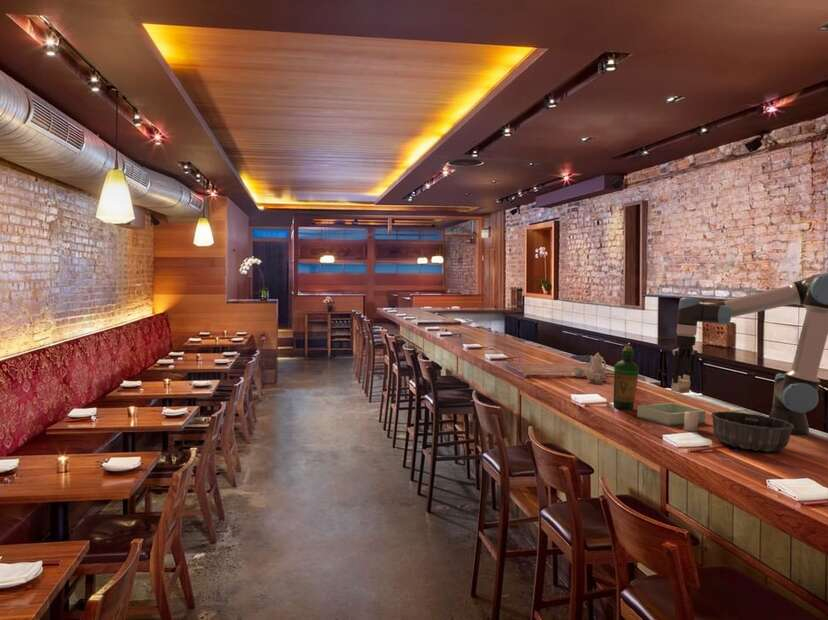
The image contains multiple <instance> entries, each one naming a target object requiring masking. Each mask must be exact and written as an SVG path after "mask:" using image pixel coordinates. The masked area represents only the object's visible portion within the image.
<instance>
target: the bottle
mask: <svg viewBox="0 0 828 620" xmlns="http://www.w3.org/2000/svg"><path fill="white" fill-rule="evenodd" d="M632 348H633V346H624V347H623V349H622V351H621V353H620V354H621V355H622V356H621V357H622V359H621V360H619V361H617V362H616V363H615V364H614V366H613V407H614V409H616V410H617V409H618V410H622V411H623V410H624V411H631V410H633V409H634V407H635V399H636V393H637V386H638V378H639V372H640V367H639V366H638V364H637V363H636V362H635V361H633V356H634V355H635V353H634V350H633V349H632Z"/></svg>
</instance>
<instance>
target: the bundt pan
mask: <svg viewBox="0 0 828 620" xmlns="http://www.w3.org/2000/svg"><path fill="white" fill-rule="evenodd" d="M711 418H712V428H713V434H714V436H715V438H716V439H717V440H718V441H719V442H722V443H724V444H725V445H729V446H732V447H733V448H740V449H742V450H750V449H751V450H753V452H757V451H761V452H764V453H767V452H768V453H769V452H771V453H776V452H778V451H781V450H783V449H785V448H786V447H787V446H788V444H789V442H790V437H791V431H792V429H793V428H794V426H793V424H791V423H788V422H787V421H784V420H779V419H775V418H772V417H769V416H765V415H762V414H754V413H746V412H738V411H737V412H736V411H714V412H712V413H711Z"/></svg>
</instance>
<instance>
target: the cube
mask: <svg viewBox="0 0 828 620" xmlns="http://www.w3.org/2000/svg"><path fill="white" fill-rule="evenodd" d="M691 382H692V381H691V380H690V381H689V380H685V379H683V378H681V380H680V390H679V392H677V391H673V378H671V388H670V391H672V392H675V393H679V394H690V389H691Z"/></svg>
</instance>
